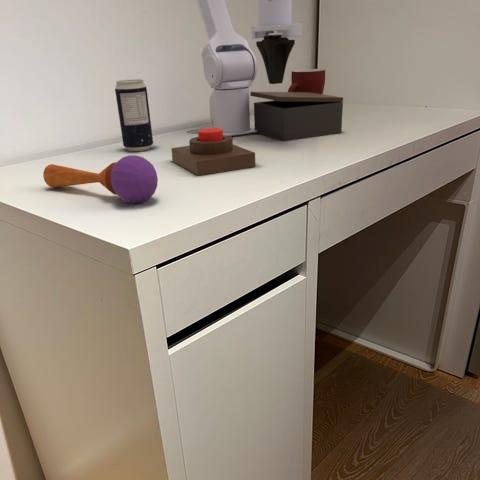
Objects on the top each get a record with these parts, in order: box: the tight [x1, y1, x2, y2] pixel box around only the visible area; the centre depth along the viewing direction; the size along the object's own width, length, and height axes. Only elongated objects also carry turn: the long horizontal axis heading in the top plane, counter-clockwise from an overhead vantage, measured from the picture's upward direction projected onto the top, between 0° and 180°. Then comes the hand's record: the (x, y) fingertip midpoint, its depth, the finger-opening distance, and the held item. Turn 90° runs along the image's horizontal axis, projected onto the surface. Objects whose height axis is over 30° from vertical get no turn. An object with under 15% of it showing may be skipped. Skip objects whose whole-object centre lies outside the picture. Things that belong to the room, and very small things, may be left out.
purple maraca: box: [42, 154, 159, 204], centre depth 70 cm, size 6×6×20 cm
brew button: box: [197, 127, 223, 142], centre depth 82 cm, size 4×4×2 cm
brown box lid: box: [249, 91, 344, 103], centre depth 103 cm, size 14×13×1 cm
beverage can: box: [114, 78, 154, 152], centre depth 95 cm, size 6×6×12 cm
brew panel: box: [170, 135, 256, 176], centre depth 84 cm, size 12×10×4 cm
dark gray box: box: [253, 100, 344, 142], centre depth 105 cm, size 14×13×6 cm
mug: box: [287, 68, 326, 95], centre depth 123 cm, size 11×8×10 cm
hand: (275, 83), depth 92 cm, fingers closed
